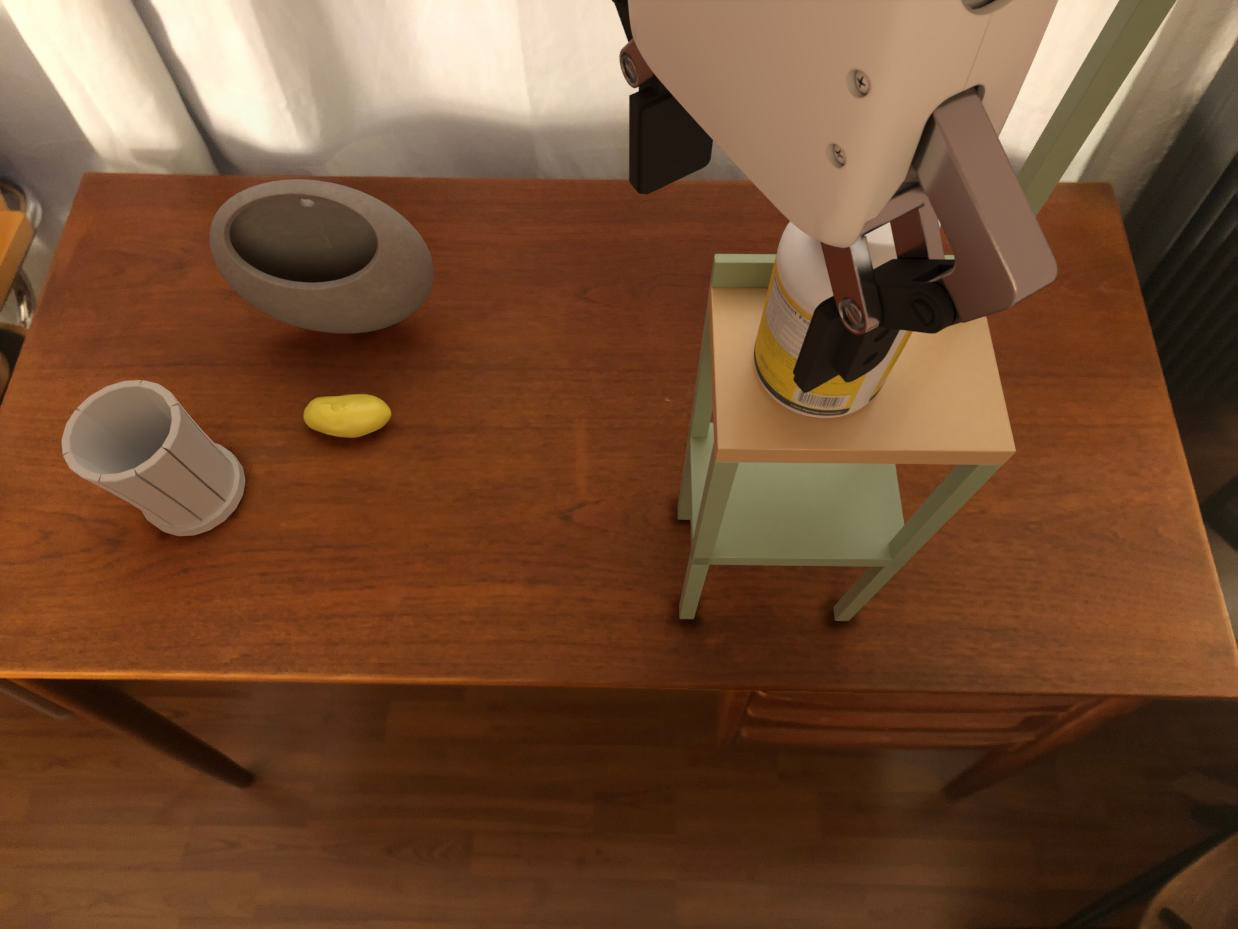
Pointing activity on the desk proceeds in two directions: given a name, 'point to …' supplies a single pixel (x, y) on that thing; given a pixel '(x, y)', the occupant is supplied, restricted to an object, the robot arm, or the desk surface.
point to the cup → (153, 457)
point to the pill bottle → (788, 318)
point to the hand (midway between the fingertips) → (747, 265)
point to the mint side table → (881, 430)
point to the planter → (321, 256)
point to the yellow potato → (347, 415)
